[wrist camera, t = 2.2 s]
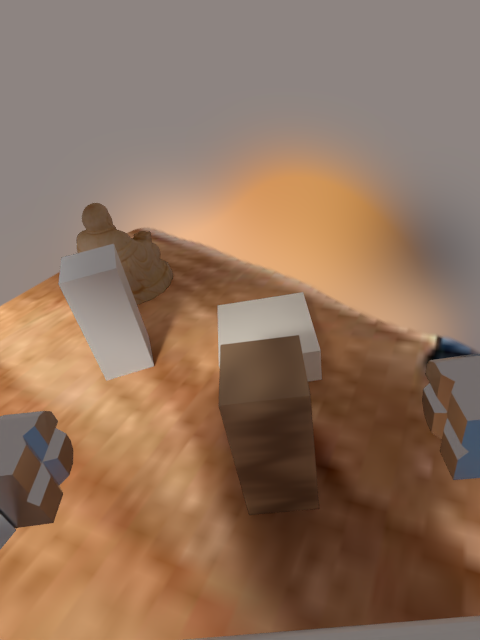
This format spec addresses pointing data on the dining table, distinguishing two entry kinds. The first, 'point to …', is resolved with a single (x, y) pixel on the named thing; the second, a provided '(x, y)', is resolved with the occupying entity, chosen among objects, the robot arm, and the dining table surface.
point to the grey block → (106, 310)
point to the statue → (127, 253)
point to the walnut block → (269, 423)
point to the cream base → (272, 325)
